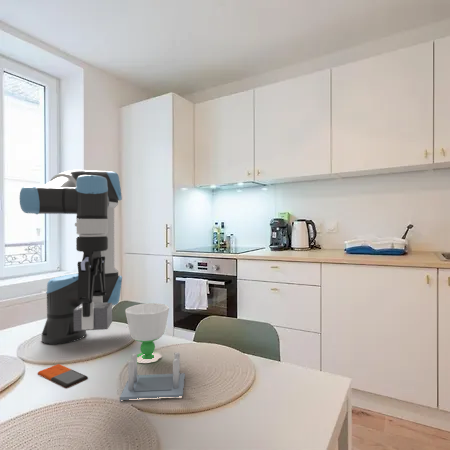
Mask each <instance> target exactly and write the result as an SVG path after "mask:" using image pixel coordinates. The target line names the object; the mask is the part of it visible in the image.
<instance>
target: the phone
mask: <svg viewBox="0 0 450 450" xmlns="http://www.w3.org/2000/svg"><path fill="white" fill-rule="evenodd" d="M37 375H38V376H40V377H42V378H44V379H46V380H48V381H51V382H52V383H55V384H56V385H58V386H60V387H62V388H64V389H68V388H71V387H72V386H76V385H77V384H80V383H82V382H83V381H86V380H88V378H89V377H88V376H87V375H85V374H83V373H81V372H78V371H76V370H74V369H72V368H69V367H67V366H64V365H62V364H60V363H58V364H57V363H56V364H55V365H52V366H50V367H47V368H45V369H41V370H39V371H38V372H37Z"/></svg>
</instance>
